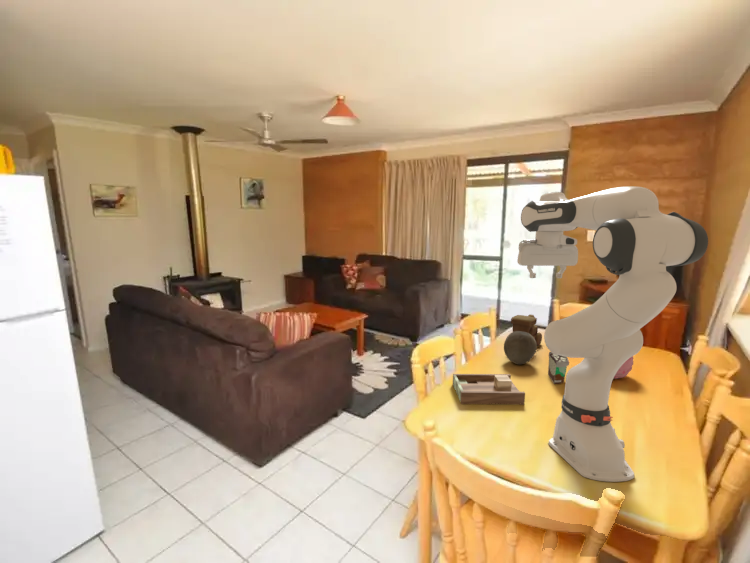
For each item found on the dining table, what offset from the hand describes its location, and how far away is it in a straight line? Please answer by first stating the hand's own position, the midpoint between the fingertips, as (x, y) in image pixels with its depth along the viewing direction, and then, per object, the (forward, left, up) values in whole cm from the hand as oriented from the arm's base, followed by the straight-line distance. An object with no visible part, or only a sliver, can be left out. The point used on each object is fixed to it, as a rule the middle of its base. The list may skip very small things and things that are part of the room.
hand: (545, 277), depth 131 cm
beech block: (+1, +13, -43) cm, 45 cm away
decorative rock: (+19, -40, -46) cm, 64 cm away
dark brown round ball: (+32, -5, -46) cm, 56 cm away
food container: (+14, -15, -46) cm, 50 cm away
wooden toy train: (+55, -17, -46) cm, 74 cm away
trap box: (+1, +18, -46) cm, 49 cm away
